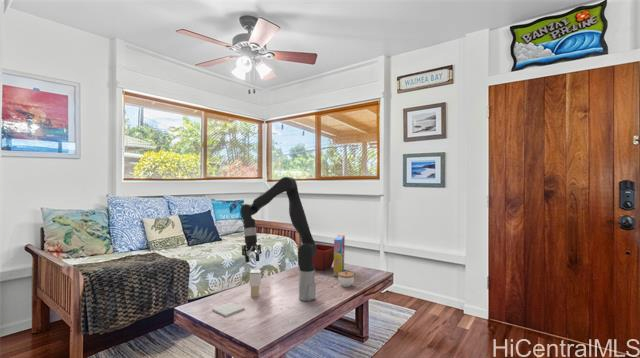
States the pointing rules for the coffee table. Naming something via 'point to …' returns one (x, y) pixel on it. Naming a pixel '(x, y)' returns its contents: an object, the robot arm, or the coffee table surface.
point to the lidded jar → (346, 278)
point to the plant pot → (323, 257)
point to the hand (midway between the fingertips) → (252, 261)
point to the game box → (339, 254)
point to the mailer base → (254, 291)
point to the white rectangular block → (255, 278)
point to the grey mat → (228, 309)
